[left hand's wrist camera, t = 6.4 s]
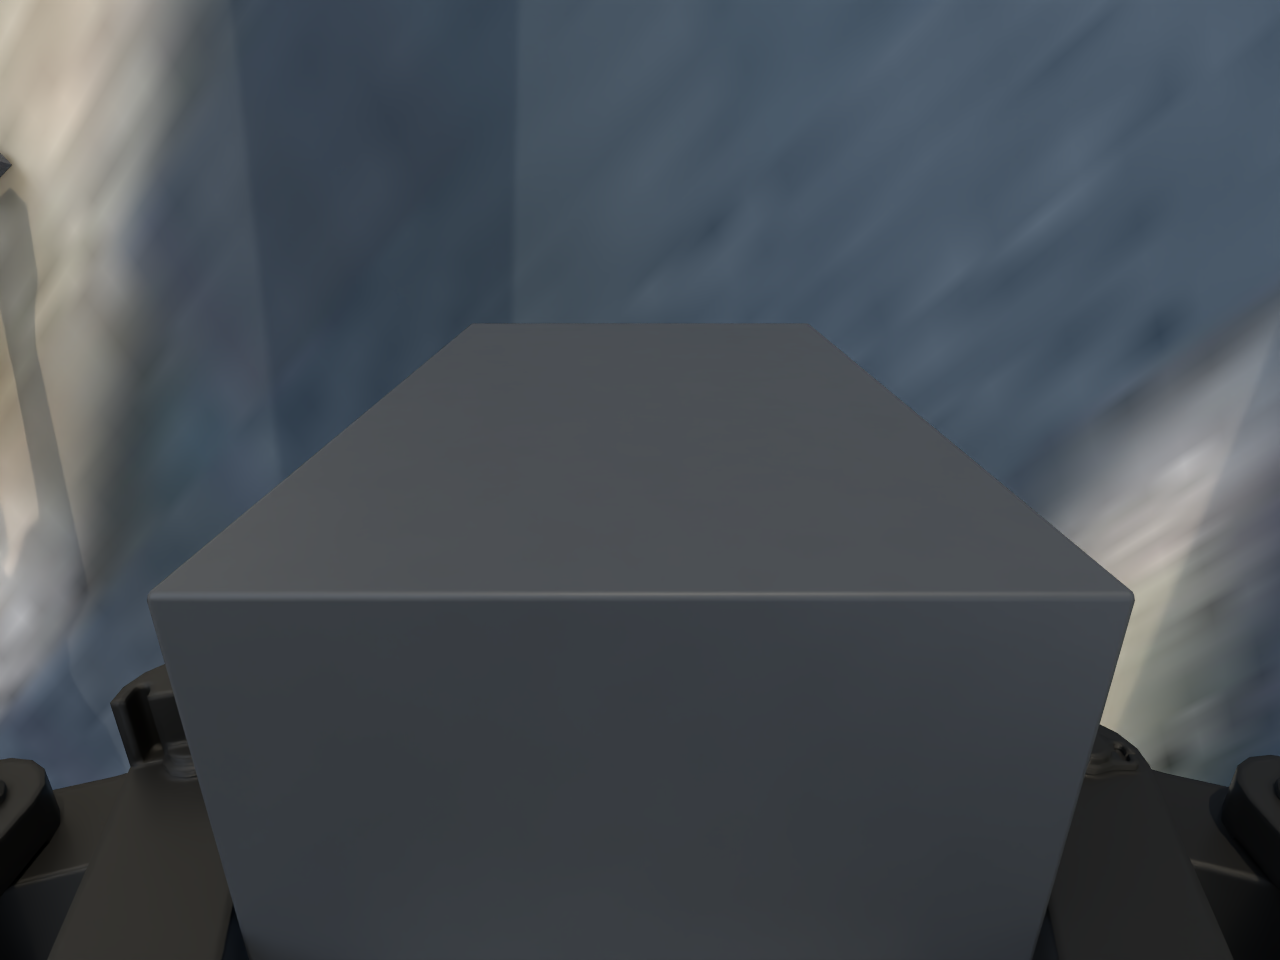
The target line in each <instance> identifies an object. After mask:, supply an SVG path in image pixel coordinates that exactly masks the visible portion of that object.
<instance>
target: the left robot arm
mask: <svg viewBox="0 0 1280 960" xmlns="http://www.w3.org/2000/svg"><path fill="white" fill-rule="evenodd" d="M110 705H111V708H112V711H113V714H114V717H115V720H116V723H117V726H118V729H119V732H120V735H121V738H122V741H123V745H124V748H125V751H126V754H127V757H128V760H129V763H130V766H131V767H130V769H129V772H128V773H126V774H122V775H119V776H115V777H111V778H106V779H102V780H97V781H92V782H88V783H83V784H79V785H74V786H70V787H65V788H60V789H56V790H52V788H51V785H50V782H49V780H48V777H47V774H46V772H45V769H44V768H42V767H41V766H40V765H38V764H37V763H36V762H34V761H33V760H25V759H15V758H9V759H2V760H0V960H249V957H248V954H247V950H246V947H245V943H244V940H243V936H242V933H241V929H240V926H239V922H238V919H237V915H236V912H235V908H234V905H233V901H232V898H231V894H230V891H229V887H228V884H227V880H226V877H225V873H224V870H223V866H222V862H221V859H220V855H219V852H218V848H217V845H216V841H215V838H214V834H213V831H212V827H211V824H210V820H209V817H208V813H207V810H206V806H205V803H204V799H203V796H202V792H201V789H200V785H199V782H198V778H197V774H196V771H195V767H194V764H193V760H192V757H191V753H190V750H189V746H188V743H187V739H186V736H185V732H184V729H183V725H182V722H181V718H180V715H179V711H178V708H177V704H176V701H175V697H174V694H173V690H172V687H171V683H170V679H169V676H168V672H167V669H166V665H165V664H164V665H162V666H159V667H157V668H155V669H152V670H150V671H148V672H146V673H144V674H142V675H141V676H139V677H138V678H136V679H135V680H133V681H132V682H130V683H129V684H128V685H126V686H125V687H123V688H122V690H121V691H120V692H119V693H118V694H117V695H116V697H115V698H114V699H113V700H112V701H111V703H110ZM1032 960H1280V756H1274V755H1266V756H1256V757H1249V758H1248V759H1246V760H1245V761H1243V762H1242V763H1241V764H1239V765H1238V766H1237V768H1236V771H1235V774H1234V776H1233V779H1232V782H1231V784H1230V787H1226V786H1221V785H1216V784H1212V783H1207V782H1203V781H1198V780H1193V779H1189V778H1184V777H1180V776H1175V775H1170V774H1166V773H1162V772H1159V771H1155V770H1152V769H1151V768H1150V766H1149V764H1148V763H1147V762H1146V760H1145V759H1144V757H1143V756H1142V755H1141V753H1140V752H1139V750H1138V749H1137V748H1136V747H1134V746H1133V745H1132V744H1131V743H1129V742H1128V741H1127V740H1125V739H1124V738H1123V737H1122V736H1120V735H1119V734H1118V733H1116V732H1114V731H1112V730H1110V729H1108V728H1106V727H1104V726H1102V725H1100V724H1099V728H1098V731H1097V735H1096V738H1095V742H1094V745H1093V749H1092V752H1091V756H1090V759H1089V763H1088V766H1087V770H1086V773H1085V777H1084V780H1083V784H1082V787H1081V791H1080V794H1079V798H1078V801H1077V805H1076V808H1075V812H1074V815H1073V819H1072V822H1071V826H1070V829H1069V833H1068V836H1067V840H1066V843H1065V847H1064V850H1063V854H1062V857H1061V861H1060V864H1059V868H1058V871H1057V875H1056V878H1055V882H1054V885H1053V889H1052V892H1051V896H1050V899H1049V903H1048V906H1047V910H1046V913H1045V917H1044V920H1043V924H1042V927H1041V931H1040V934H1039V938H1038V941H1037V945H1036V948H1035V952H1034V955H1033V959H1032Z"/></svg>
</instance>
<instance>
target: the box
mask: <svg viewBox="0 0 1280 960" xmlns="http://www.w3.org/2000/svg"><path fill="white" fill-rule="evenodd" d="M1134 601H1135V599H1134V594H1133V592H1132V591H1131V590H1130V589H1128V588H1127V587H1126V586H1125V585H1123V584H1122V583H1121V582H1120V581H1119V580H1117V579H1116V578H1115V577H1114V576H1113V575H1111V574H1110V573H1109V572H1108V571H1107V570H1105V569H1104V568H1103V567H1102V566H1101V565H1099V564H1098V563H1097V562H1096V561H1094V560H1093V559H1092V558H1091V557H1090V556H1088V555H1087V554H1086V553H1085V552H1084V551H1082V550H1081V549H1080V548H1079V547H1078V546H1076V545H1075V544H1074V543H1073V542H1071V541H1070V540H1069V539H1068V538H1067V537H1065V536H1064V535H1063V534H1062V533H1061V532H1059V531H1058V530H1057V529H1056V528H1055V527H1053V526H1052V525H1051V524H1050V523H1049V522H1047V521H1046V520H1045V519H1044V518H1042V517H1041V516H1040V515H1039V514H1038V513H1036V512H1035V511H1034V510H1033V509H1032V508H1030V507H1029V506H1028V505H1027V504H1026V503H1024V502H1023V501H1022V500H1021V499H1019V498H1018V497H1017V496H1016V495H1015V494H1013V493H1012V492H1011V491H1010V490H1009V489H1007V488H1006V487H1005V486H1004V485H1003V484H1001V483H1000V482H999V481H998V480H997V479H995V478H994V477H993V476H992V475H990V474H989V473H988V472H987V471H986V470H984V469H983V468H982V467H981V466H980V465H978V464H977V463H976V462H975V461H974V460H972V459H971V458H970V457H969V456H968V455H966V454H965V453H964V452H963V451H961V450H960V449H959V448H958V447H957V446H955V445H954V444H953V443H952V442H951V441H949V440H948V439H947V438H946V437H945V436H943V435H942V434H941V433H940V432H938V431H937V430H936V429H935V428H934V427H932V426H931V425H930V424H929V423H928V422H926V421H925V420H924V419H923V418H922V417H920V416H919V415H918V414H917V413H916V412H914V411H913V410H912V409H911V408H909V407H908V406H907V405H906V404H905V403H903V402H902V401H901V400H900V399H899V398H897V397H896V396H895V395H894V394H893V393H891V392H890V391H889V390H888V389H886V388H885V387H884V386H883V385H882V384H880V383H879V382H878V381H877V380H876V379H874V378H873V377H872V376H871V375H870V374H868V373H867V372H866V371H865V370H864V369H862V368H861V367H860V366H859V365H857V364H856V363H855V362H854V361H853V360H851V359H850V358H849V357H848V356H847V355H845V354H844V353H843V352H842V351H841V350H839V349H838V348H837V347H836V346H834V345H833V344H832V343H831V342H830V341H828V340H827V339H826V338H825V337H824V336H822V335H821V334H820V333H819V332H818V331H816V330H815V329H814V328H813V327H812V326H810V325H809V324H471V325H470V326H469V327H467V328H466V329H465V330H464V331H463V332H461V333H460V334H459V335H458V336H457V337H455V338H454V339H453V340H452V341H451V342H449V343H448V344H447V345H446V346H445V347H443V348H442V349H441V350H440V351H439V352H437V353H436V354H435V355H434V356H433V357H431V358H430V359H429V360H428V361H427V362H425V363H424V364H423V365H422V366H421V367H419V368H418V369H417V370H416V371H415V372H413V373H412V374H411V375H410V376H409V377H407V378H406V379H405V380H404V381H403V382H401V383H400V384H399V385H398V386H397V387H395V388H394V389H393V390H392V391H391V392H389V393H388V394H387V395H386V396H385V397H383V398H382V399H381V400H380V401H379V402H377V403H376V404H375V405H374V406H372V407H371V408H370V409H369V410H368V411H366V412H365V413H364V414H363V415H362V416H360V417H359V418H358V419H357V420H356V421H354V422H353V423H352V424H351V425H350V426H348V427H347V428H346V429H345V430H344V431H342V432H341V433H340V434H339V435H338V436H336V437H335V438H334V439H333V440H332V441H330V442H329V443H328V444H327V445H326V446H324V447H323V448H322V449H321V450H320V451H318V452H317V453H316V454H315V455H314V456H312V457H311V458H310V459H309V460H308V461H306V462H305V463H304V464H303V465H302V466H300V467H299V468H298V469H297V470H296V471H294V472H293V473H292V474H291V475H290V476H288V477H287V478H286V479H285V480H284V481H282V482H281V483H280V484H279V485H277V486H276V487H275V488H274V489H273V490H271V491H270V492H269V493H268V494H267V495H265V496H264V497H263V498H262V499H261V500H259V501H258V502H257V503H256V504H255V505H253V506H252V507H251V508H250V509H249V510H247V511H246V512H245V513H244V514H243V515H241V516H240V517H239V518H238V519H237V520H235V521H234V522H233V523H232V524H231V525H229V526H228V527H227V528H226V529H225V530H223V531H222V532H221V533H220V534H219V535H217V536H216V537H215V538H214V539H213V540H211V541H210V542H209V543H208V544H207V545H205V546H204V547H203V548H202V549H201V550H199V551H198V552H197V553H196V554H195V555H193V556H192V557H191V558H190V559H189V560H187V561H186V562H185V563H184V564H182V565H181V566H180V567H179V568H178V569H176V570H175V571H174V572H173V573H172V574H170V575H169V576H168V577H167V578H166V579H164V580H163V581H162V582H161V583H160V584H158V585H157V586H156V587H155V588H154V589H152V590H151V591H150V592H149V594H148V598H147V602H148V606H149V609H150V613H151V616H152V620H153V623H154V627H155V630H156V634H157V637H158V641H159V644H160V648H161V651H162V655H163V658H164V662H165V665H166V669H167V672H168V676H169V679H170V683H171V687H172V690H173V694H174V697H175V701H176V704H177V708H178V711H179V715H180V718H181V722H182V725H183V729H184V732H185V736H186V739H187V743H188V746H189V750H190V753H191V757H192V760H193V764H194V767H195V771H196V774H197V778H198V782H199V785H200V789H201V792H202V796H203V799H204V803H205V806H206V810H207V813H208V817H209V820H210V824H211V827H212V831H213V834H214V838H215V841H216V845H217V848H218V852H219V855H220V859H221V862H222V866H223V870H224V873H225V877H226V880H227V884H228V887H229V891H230V894H231V898H232V901H233V905H234V908H235V912H236V915H237V919H238V922H239V926H240V929H241V933H242V936H243V940H244V943H245V947H246V950H247V954H248V957H249V960H1032V959H1033V955H1034V952H1035V948H1036V945H1037V941H1038V938H1039V934H1040V931H1041V927H1042V924H1043V920H1044V917H1045V913H1046V910H1047V906H1048V903H1049V899H1050V896H1051V892H1052V889H1053V885H1054V882H1055V878H1056V875H1057V871H1058V868H1059V864H1060V861H1061V857H1062V854H1063V850H1064V847H1065V843H1066V840H1067V836H1068V833H1069V829H1070V826H1071V822H1072V819H1073V815H1074V812H1075V808H1076V805H1077V801H1078V798H1079V794H1080V791H1081V787H1082V784H1083V780H1084V777H1085V773H1086V770H1087V766H1088V763H1089V759H1090V756H1091V752H1092V749H1093V745H1094V742H1095V738H1096V735H1097V731H1098V728H1099V724H1100V721H1101V717H1102V714H1103V710H1104V707H1105V703H1106V700H1107V696H1108V693H1109V689H1110V686H1111V682H1112V679H1113V675H1114V672H1115V668H1116V665H1117V661H1118V658H1119V654H1120V651H1121V647H1122V644H1123V640H1124V637H1125V633H1126V629H1127V626H1128V622H1129V619H1130V615H1131V612H1132V608H1133V605H1134Z"/></svg>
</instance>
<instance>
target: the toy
mask: <svg viewBox="0 0 1280 960" xmlns="http://www.w3.org/2000/svg"><path fill="white" fill-rule="evenodd" d="M11 165H12V164H11V163H10V162H9V161H8V160H7V159H6V158H5V157H4V156H3V155H2V154H1V153H0V177H1V176H2V175H3V174H4V173H5V172H6V171H7V170H8V168H9V167H10V166H11Z"/></svg>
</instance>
